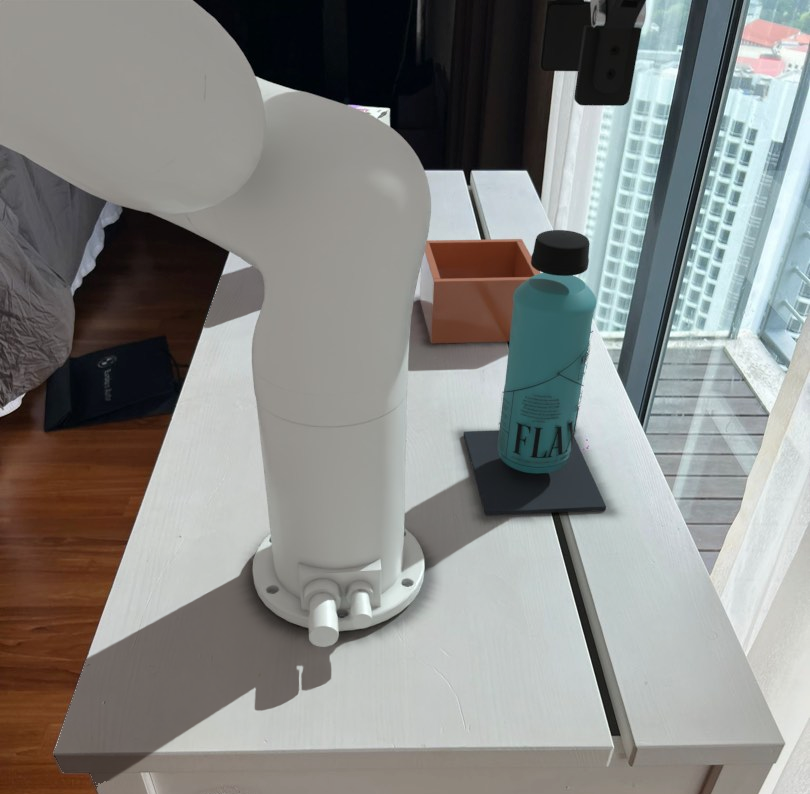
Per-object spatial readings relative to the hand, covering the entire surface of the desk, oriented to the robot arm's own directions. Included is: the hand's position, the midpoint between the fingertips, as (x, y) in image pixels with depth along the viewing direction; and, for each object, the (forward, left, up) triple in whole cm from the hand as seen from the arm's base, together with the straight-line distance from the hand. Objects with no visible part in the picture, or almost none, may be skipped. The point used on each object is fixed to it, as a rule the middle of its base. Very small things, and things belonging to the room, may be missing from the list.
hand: (580, 86), depth 54 cm
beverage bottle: (0, 0, -30) cm, 30 cm away
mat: (0, 0, -30) cm, 30 cm away
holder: (+30, 0, -30) cm, 42 cm away
